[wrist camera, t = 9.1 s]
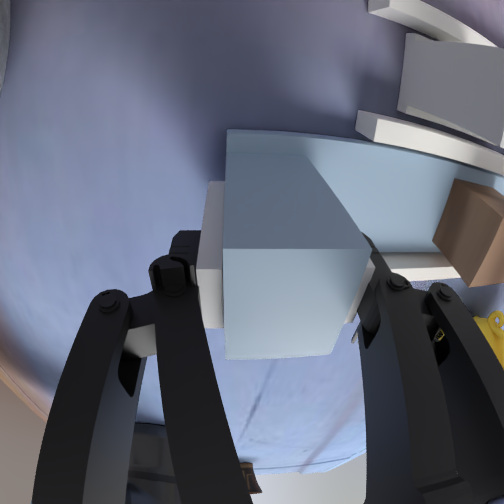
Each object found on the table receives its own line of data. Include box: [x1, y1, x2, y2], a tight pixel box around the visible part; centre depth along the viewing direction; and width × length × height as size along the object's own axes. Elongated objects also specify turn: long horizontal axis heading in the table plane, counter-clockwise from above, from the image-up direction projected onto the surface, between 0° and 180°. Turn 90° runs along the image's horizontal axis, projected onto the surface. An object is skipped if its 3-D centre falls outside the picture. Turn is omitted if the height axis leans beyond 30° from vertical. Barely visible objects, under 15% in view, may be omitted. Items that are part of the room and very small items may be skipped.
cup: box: [240, 463, 262, 494], centre depth 57 cm, size 9×9×10 cm
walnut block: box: [432, 178, 504, 287], centre depth 14 cm, size 5×5×5 cm
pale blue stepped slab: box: [223, 129, 504, 360], centre depth 13 cm, size 22×7×9 cm, turn 87°
